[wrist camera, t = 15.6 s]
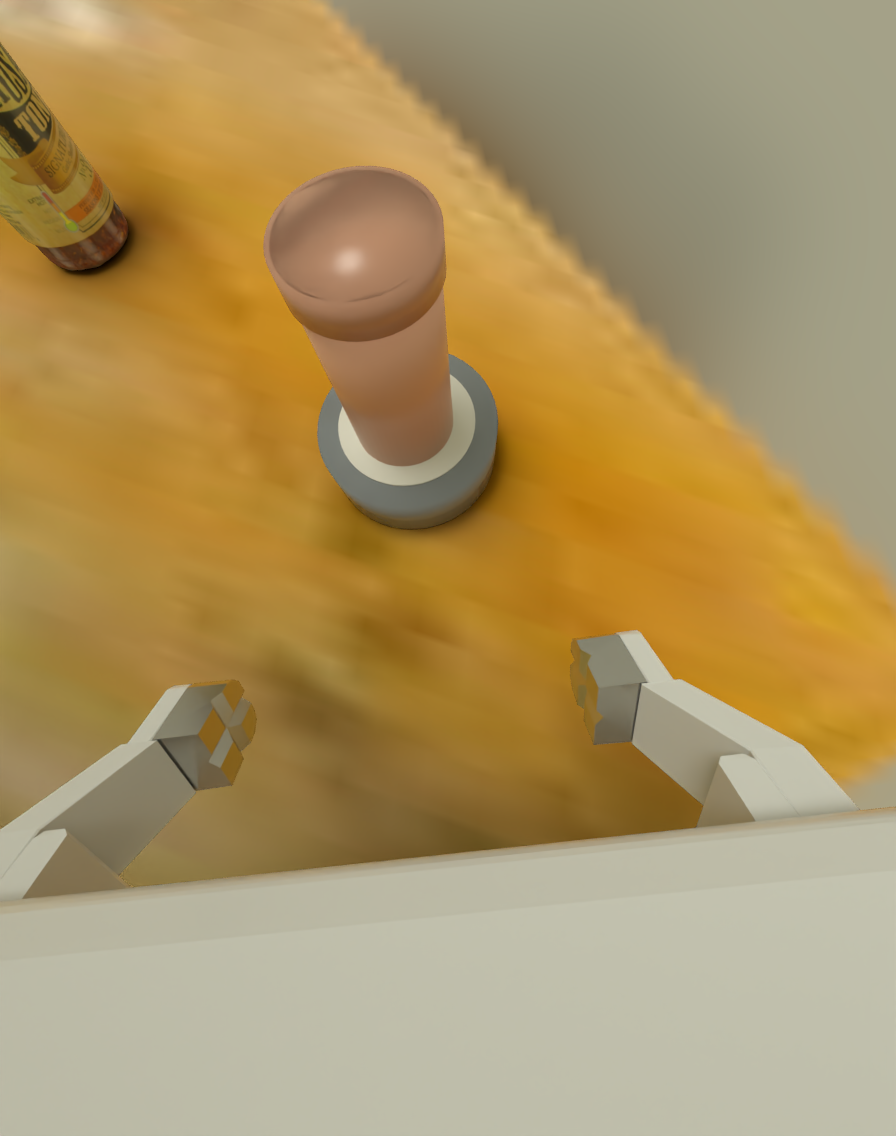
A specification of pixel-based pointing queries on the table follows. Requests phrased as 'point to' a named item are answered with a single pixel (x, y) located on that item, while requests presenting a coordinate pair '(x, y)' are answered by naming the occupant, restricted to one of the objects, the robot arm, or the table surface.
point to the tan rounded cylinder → (371, 302)
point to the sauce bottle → (51, 181)
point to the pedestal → (426, 486)
